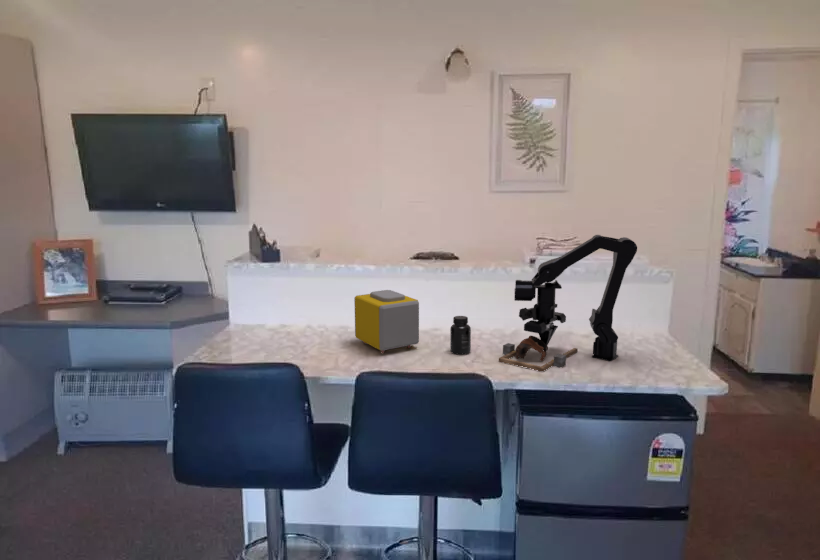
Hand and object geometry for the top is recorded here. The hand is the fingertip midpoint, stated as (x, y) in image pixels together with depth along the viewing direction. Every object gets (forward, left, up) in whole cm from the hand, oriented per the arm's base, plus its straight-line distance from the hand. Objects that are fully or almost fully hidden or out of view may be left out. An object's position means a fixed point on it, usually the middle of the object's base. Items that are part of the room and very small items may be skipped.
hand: (544, 347), depth 198 cm
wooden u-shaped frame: (0, +3, -2) cm, 4 cm away
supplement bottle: (+23, +15, -3) cm, 28 cm away
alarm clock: (+47, +25, -3) cm, 54 cm away
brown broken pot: (+2, +7, -3) cm, 8 cm away
